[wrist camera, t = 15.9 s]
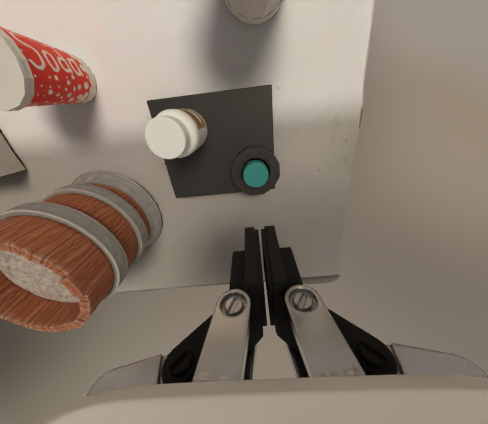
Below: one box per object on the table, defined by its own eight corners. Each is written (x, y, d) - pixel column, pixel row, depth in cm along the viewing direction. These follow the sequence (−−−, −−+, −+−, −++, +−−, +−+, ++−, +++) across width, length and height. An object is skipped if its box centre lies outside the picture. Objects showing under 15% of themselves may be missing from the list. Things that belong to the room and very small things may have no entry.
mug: (179, 233, 32) (131, 322, 19) (91, 265, 36) (-1, 358, 22) (124, 154, 26) (-6, 202, 12) (24, 202, 29) (-156, 279, 16)
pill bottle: (210, 113, 22) (193, 116, 15) (205, 152, 24) (188, 169, 17) (171, 104, 22) (136, 102, 15) (170, 143, 24) (138, 158, 17)
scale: (274, 85, 22) (277, 82, 19) (276, 184, 27) (280, 192, 25) (151, 101, 23) (139, 100, 20) (179, 194, 28) (172, 202, 26)
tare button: (266, 158, 23) (268, 161, 22) (268, 182, 24) (269, 186, 23) (242, 161, 23) (241, 164, 22) (244, 184, 25) (244, 188, 23)
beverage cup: (112, 106, 23) (-42, 105, 11) (65, 113, 23) (-136, 119, 11) (86, 40, 20) (-167, -66, 8) (33, 49, 21) (-286, -37, 8)
